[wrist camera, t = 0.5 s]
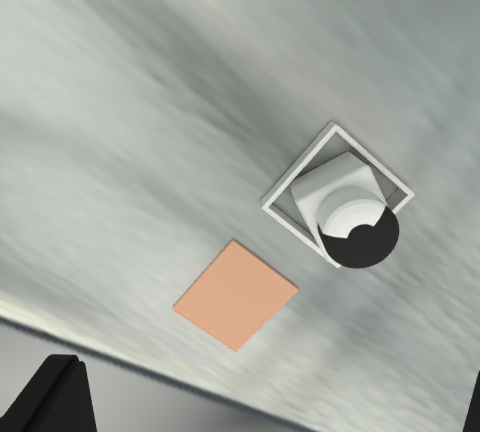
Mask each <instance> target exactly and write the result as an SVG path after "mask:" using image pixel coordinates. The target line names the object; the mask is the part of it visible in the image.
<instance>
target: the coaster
mask: <svg viewBox="0 0 480 432" xmlns="http://www.w3.org/2000/svg"><path fill="white" fill-rule="evenodd" d="M298 290H299V288H298V287H297V286H296V285H294V284H293V283H292V282H290V281H289V280H288V279H287V278H285V277H284V276H283V275H281V274H280V273H279V272H277V271H276V270H275V269H273V268H272V267H271V266H269V265H268V264H267V263H265V262H264V261H263V260H261V259H260V258H259V257H257V256H256V255H255V254H253V253H252V252H251V251H249V250H248V249H247V248H245V247H244V246H243V245H241V244H240V243H239V242H237V241H236V240H235V239H232V240H231V242H230V243H229V244H228V245H227V246H226V247H225V248H224V249H223V251H222V252H221V253H220V254H219V255H218V256H217V257H216V258H215V260H214V261H213V262H212V263H211V264H210V265H209V266H208V267H207V269H206V270H205V271H204V272H203V273H202V274H201V275H200V277H199V278H198V279H197V280H196V281H195V282H194V283H193V284H192V286H191V287H190V288H189V289H188V290H187V291H186V292H185V293H184V295H183V296H182V297H181V298H180V299H179V300H178V301H177V302H176V304H175V305H174V306H173V308H172V310H174V311H175V312H177V313H178V314H180V315H181V316H183V317H184V318H186V319H187V320H189V321H190V322H191V323H193V324H194V325H196V326H197V327H199V328H200V329H202V330H203V331H205V332H206V333H208V334H209V335H211V336H212V337H214V338H215V339H217V340H218V341H220V342H221V343H223V344H224V345H226V346H227V347H228V348H230V349H231V350H233V351H234V352H236V351H237V350H238V349H239V348H240V347H241V346H242V345H243V344H244V343H245V342H246V341H247V340H248V339H250V338H251V337H252V336H253V335H254V334H255V333H256V332H257V331H258V330H259V329H260V328H261V327H262V326H263V325H264V324H265V323H266V322H267V321H268V320H269V319H270V318H271V317H272V316H273V315H274V314H275V313H276V312H277V311H278V310H279V309H280V308H281V307H282V306H283V305H284V304H285V303H286V302H287V301H288V300H289V299H290V298H291V297H292V296H293V295H294V294H295V293H296V292H297V291H298Z"/></svg>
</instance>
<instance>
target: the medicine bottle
mask: <svg viewBox="0 0 480 432" xmlns="http://www.w3.org/2000/svg"><path fill="white" fill-rule="evenodd" d="M289 185H290V188H291V191H292V194H293V197H294V200H295V203H296V205H297V207H298V209H299V211H300V212H301V214H302V216H303V218H304V220H305V222H306V223H307V225H308V227H309V229H310V231H311V233H312V234H313V236H314V238H315V240H316V242H317V244H318V245H319V247H320V249H321V251H322V253H323V255H324V256H325V258H326V260H327V261H328V262H333V261H335V262H336V263H338V264H340V265H342V266H345V267H348V268H366V267H370V266H373V265H375V264H377V263H379V262H381V261H382V260H384V259H385V258H386V257H387V256H388V255H389V254H390V253H391V252H392V250H393V249H394V247H395V245H396V243H397V241H398V237H399V224H398V220H397V218H396V216H395V214H394V213H393V211H392V210H391V209H390V208H389V207H388V205H387V203H386V201H385V198H384V196H383V194H382V192H381V190H380V188H379V185H378V183H377V181H376V179H375V177H374V175H373V172H372V170H371V168H370V166H369V165H368V164H366V163H365V162H363V161H362V160H361V159H359V158H358V157H357V156H355V155H354V154H353V153H351V152H349V151H348V152H345V153H343V154H341V155H339V156H338V157H336V158H334V159H332V160H330V161H328V162H326V163H324V164H323V165H321V166H319V167H317V168H315V169H313V170H311V171H309V172H307V173H306V174H304V175H302V176H300V177H298V178H296V179H294V180H292V181H291V182H290V184H289Z"/></svg>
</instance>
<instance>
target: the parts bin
mask: <svg viewBox="0 0 480 432" xmlns="http://www.w3.org/2000/svg"><path fill="white" fill-rule="evenodd" d="M335 132H336V133H337V134H338V135H339V136H341V137H342V138H343V139H344V140H345V141H346V142H347V143H348V144H350V145H351V146H352V147H353V148H354V149H355V150H356V151H357V152H359V153H360V154H361V155H362V156H363V157H364V158H365V159H367V160H368V161H369V162H370V163H371V164H372V165H373V166H374V167H376V168H377V169H378V170H379V171H380V172H381V173H382V174H383V175H385V176H386V177H387V178H388V179H389V180H390V181H391V182H392V183H394V184H395V185H396V186H397V187H398V188H399V189H398V190H397V191H396V192H395V193H393V194H392V195H391V196H390V197H389V198H388V199H387V200H386V203H387V205H388V207H389V208H390V209H391V210H392V211H393V213H394V214H395V213H396V212H398V211H399V210H400V209H401V208H402V207H403V206H404V205H405V204H406V203H407V202H408V201H409V200H410V199H411V198H412V197H413V196H414V195H415V194H414V193H413V192H412V191H411V190H410V189H409V188H408V187H406V186H405V185H404V184H403V183H402V182H401V181H400V180H399V179H397V178H396V177H395V176H394V175H393V174H392V173H391V172H390V171H389V170H387V169H386V168H385V167H384V166H383V165H382V164H381V163H380V162H378V161H377V160H376V159H375V158H374V157H373V156H372V155H371V154H369V153H368V152H367V151H366V150H365V149H364V148H363V147H362V146H361V145H359V144H358V143H357V142H356V141H355V140H354V139H353V138H352V137H350V136H349V135H348V134H347V133H346V132H345V131H344V130H343V129H341V128H340V127H339V126H338V125H337V124H336V123H334V122H332V121H330V122H329V124H328V125H327V126H326V127H325V128H324V129H323V130H322V132H321V133H320V134H319V135H318V136H317V137H316V138H315V140H314V141H313V142H312V143H311V144H310V145H309V146H308V148H307V149H306V150H305V151H304V152H303V153H302V154H301V155H300V157H299V158H298V159H297V160H296V161H295V162H294V163H293V165H292V166H291V167H290V168H289V169H288V170H287V171H286V173H285V174H284V175H283V176H282V177H281V178H280V179H279V180H278V182H277V183H276V184H275V185H274V186H273V187H272V188H271V190H270V191H269V192H268V193H267V194H266V195H265V196H264V198H263V199H262V200H261V208H262V209H263V210H264V211H266V212H267V213H268V214H270V215H271V216H272V217H273V218H275V219H276V220H277V221H278V222H280V223H281V224H282V225H284V226H285V227H286V228H287V229H289V230H290V231H291V232H292V233H294V234H295V235H296V236H297V237H299V238H300V239H301V240H303V241H304V242H305V243H306V244H308V245H309V246H310V247H311V248H313V249H314V250H315V251H317V252H318V253H319V254H320V255H322V256H323V257H324V258H325V256H324V255H323V253H322V251H321V249H320V247H319V245H318V244H317V242H316V240H315V238H314V237H313V236H312V235H311V234H309V233H308V232H307V231H306V230H304V229H303V228H302V227H301V226H299V225H298V224H297V223H295V222H294V221H293V220H292V219H290V218H289V217H288V216H287V215H285V214H284V213H283V212H282V211H280V210H279V209H278V208H277V207H275V206H274V205H273V204H272V203H273V201H274V200H275V199H276V198H277V197H278V196H279V195H280V194H281V192H282V191H283V190H284V189H285V188H286V187H287V186H288V185H289V184H290V182H291V181H292V180H293V179H294V178H295V177H296V176H297V175H298V173H299V172H300V171H301V170H302V169H303V168H304V167H305V166H306V164H307V163H308V162H309V161H310V160H311V159H312V158H313V157H314V156H315V154H316V153H317V152H318V151H319V150H320V149H321V148H322V147H323V145H324V144H325V143H326V142H327V141H328V140H329V139H330V138H331V137H332V135H333V134H334V133H335ZM325 259H326V258H325ZM330 263H332V264H333V265H334V266H336V267H337V268H339V267H340V266H341V265H340V264H338V263H336V262H335V261H333V262H330Z"/></svg>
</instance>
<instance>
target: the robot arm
mask: <svg viewBox="0 0 480 432" xmlns="http://www.w3.org/2000/svg"><path fill="white" fill-rule="evenodd" d="M0 432H97V429H96V423H95V417H94V412H93V406H92V400H91V395H90V389H89V383H88V377H87V372H86V366H85V363H84V362H83V361H79V359H78V357H77V356H76V355H60V354H58V355H57V354H52V355H50V356H48V357H47V358H46V359H45V361H44V362H43V364H42V365H41V366H40V368H39V369H38V370H37V372H36V373H35V374H34V376H33V377H32V378H31V380H30V381H29V382H28V384H27V385H26V386H25V388H24V389H23V390H22V392H21V393H20V394H19V396H18V397H17V398H16V400H15V401H14V402H13V404H12V405H11V406H10V408H9V409H8V410H7V412H6V413H5V414H4V416H2V417H1V418H0ZM463 432H480V371H479V373H478V377H477V380H476V384H475V388H474V391H473V395H472V399H471V402H470V406H469V410H468V414H467V417H466V421H465V425H464V428H463Z"/></svg>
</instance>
